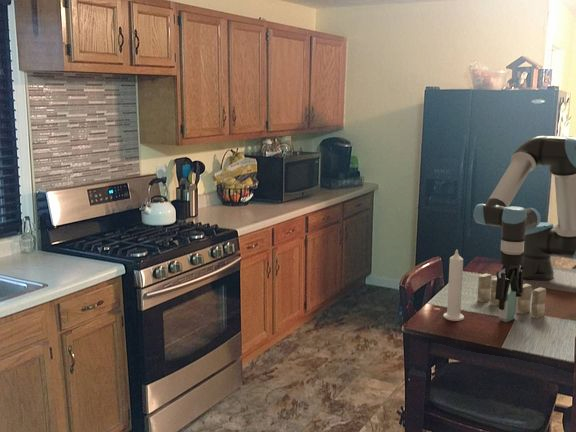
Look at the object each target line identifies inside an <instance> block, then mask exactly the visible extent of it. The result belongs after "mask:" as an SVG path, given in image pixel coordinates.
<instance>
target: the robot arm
mask: <svg viewBox="0 0 576 432" xmlns="http://www.w3.org/2000/svg"><path fill="white" fill-rule="evenodd" d="M537 166H543V167H544V166H545V167H546V166H547V167H549V172H550V174H551V175H553V176H554V187H555V201H556V202H555V203H556V213H557V214H556V215H557V224H556V225H555V227H554V224H553V223H552V222H544V221H543V222H542V221H541V217H542V216H541V213H540V212H539V211H538V210H537V209H536V208H534V207H522V206H512V205H511V206H510V204H511V203H512V201H513V200H514V198H515V196H516V194H517V193H518V192H519V190H520V188H521V186H522V185H523V183H524V181H525V180H526V178H527V176H528V175H529V173H530V172H532V171H534V170H535V168H536V167H537ZM473 219H474V221H475V223H476V224H480V225H485V226H491V227H499V228H501V234H500V235H501V237H500V239H501V240H500V252H499V254H500V255H499V262H500V263H501V264H502V267H501V270H500V271H496V278H497V283H496V294H495V299H497V300H499V305H498V318H500V319H501V318H502V319H507V304H508V301H506V299H507V294H508V291H509V290H512V291H515V292H516V300H515V314H514V316H517V315H518V313H517V304H518V297H521V294H522V291H523V285H524V279H527V280H528V279H529V280H535V281H548V280H552V279H553V278H554V275H555V271H554V268H553V265H552V261H551V255H552V256H557V257H563V258H569V259H571V260H573V259H575V260H576V136H571V135H570V136H569V135H568V136H559V135H554V136H553V135H538V136H535V137H532V138H530V139H528V140H526V141H525V142H523V144H521V145H520V146H519V147H517V149H516V150H515V151H514V153H513V154H512V156H511V159H510V163H509V165H508V167H507V168H506V170H505V172H504V174H503V175H502V177H501V178H500V180H499V182H498V184H497V185H496V187H495V188H494V189H493V191H492V193H491V195H490V196H489V198H488V200H486V203H478V204H476V206H475V208H473ZM509 288H510V289H509ZM519 289H520V290H519ZM520 293H521V294H520Z"/></svg>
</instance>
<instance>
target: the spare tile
mask: <svg viewBox="0 0 576 432" xmlns="http://www.w3.org/2000/svg"><path fill="white" fill-rule="evenodd" d="M515 300H516V292H515V291H512V290H511V289H509V290H508V294H507V299H506V301H508V304H507V319H502V318H500V321H502V322H504V323H508V322H510V321H512V320H514V319H515V315H514V314H515Z"/></svg>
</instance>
